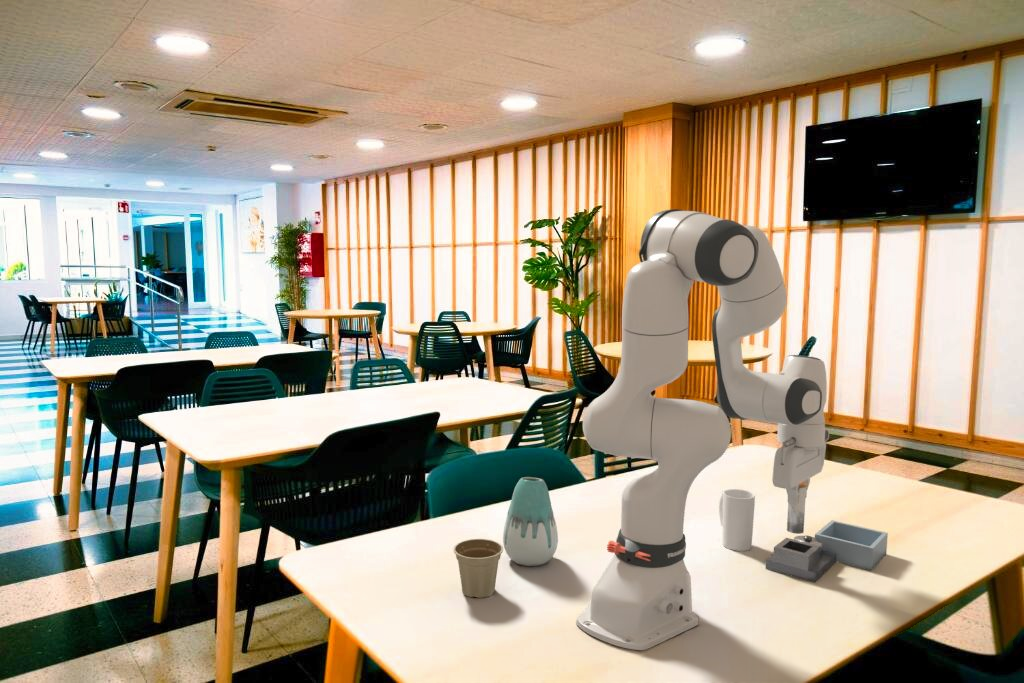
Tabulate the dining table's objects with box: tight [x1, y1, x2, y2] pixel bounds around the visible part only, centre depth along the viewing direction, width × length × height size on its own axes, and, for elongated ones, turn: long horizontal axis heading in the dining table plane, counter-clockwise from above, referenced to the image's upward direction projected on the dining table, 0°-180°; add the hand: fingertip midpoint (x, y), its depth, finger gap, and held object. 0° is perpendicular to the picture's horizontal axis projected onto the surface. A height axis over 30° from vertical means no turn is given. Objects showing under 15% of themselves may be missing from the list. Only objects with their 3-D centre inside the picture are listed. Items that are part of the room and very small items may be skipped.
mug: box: [718, 488, 756, 552], centre depth 160 cm, size 10×7×12 cm, turn 20°
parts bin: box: [814, 519, 889, 572], centre depth 155 cm, size 12×12×5 cm
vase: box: [502, 476, 559, 567], centre depth 150 cm, size 12×12×18 cm
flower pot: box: [453, 538, 504, 599], centre depth 136 cm, size 9×9×9 cm
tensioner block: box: [765, 535, 837, 583], centre depth 149 cm, size 13×10×5 cm
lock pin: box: [786, 480, 807, 535], centre depth 145 cm, size 3×3×11 cm
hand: (797, 501), depth 145 cm, fingers closed on lock pin, 3 cm apart
